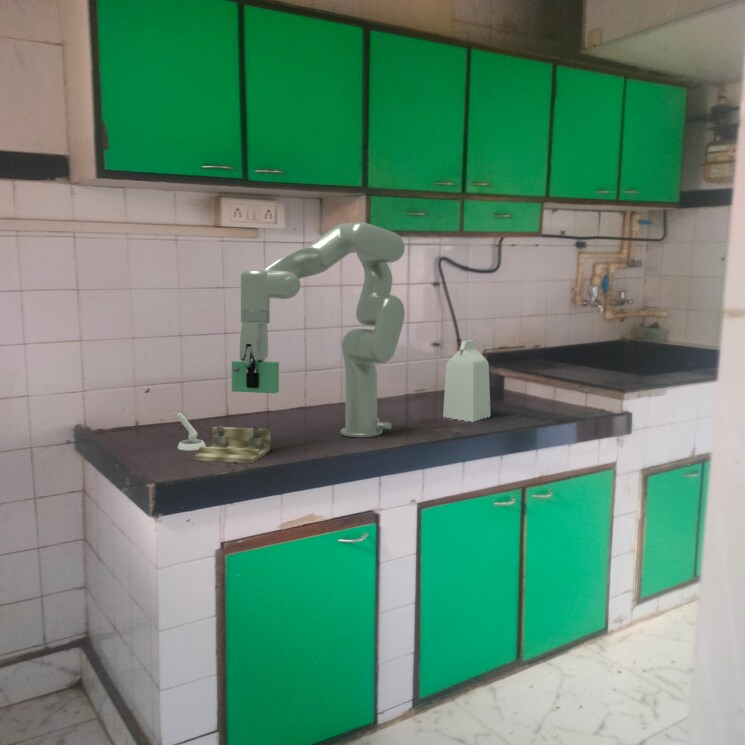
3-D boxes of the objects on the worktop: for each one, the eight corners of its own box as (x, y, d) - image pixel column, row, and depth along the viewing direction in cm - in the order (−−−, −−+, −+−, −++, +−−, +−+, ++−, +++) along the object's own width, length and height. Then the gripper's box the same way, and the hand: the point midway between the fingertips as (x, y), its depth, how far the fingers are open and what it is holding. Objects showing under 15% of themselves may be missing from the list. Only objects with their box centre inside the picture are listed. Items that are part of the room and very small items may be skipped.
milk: (473, 422, 237) (474, 343, 233) (443, 418, 243) (444, 341, 240) (490, 416, 246) (492, 340, 243) (461, 412, 253) (462, 338, 250)
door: (278, 391, 193) (278, 362, 192) (273, 393, 189) (274, 363, 188) (236, 389, 195) (235, 360, 194) (230, 392, 191) (230, 361, 190)
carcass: (270, 450, 197) (270, 425, 196) (253, 463, 184) (252, 436, 183) (215, 448, 200) (214, 423, 199) (193, 460, 186) (193, 433, 186)
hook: (159, 427, 202) (179, 412, 205) (186, 460, 204) (206, 444, 206) (161, 427, 195) (182, 410, 198) (189, 461, 197) (209, 444, 200)
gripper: (252, 316, 199) (252, 382, 201) (230, 318, 183) (230, 390, 185) (278, 317, 198) (277, 383, 200) (258, 319, 182) (258, 391, 184)
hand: (255, 386), depth 193 cm, fingers closed on door, 3 cm apart
